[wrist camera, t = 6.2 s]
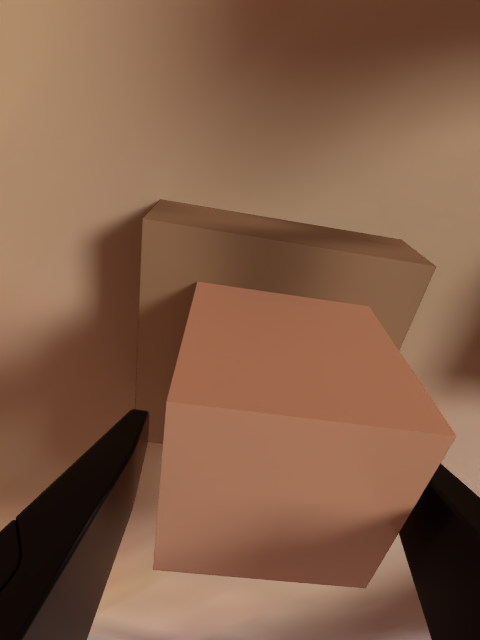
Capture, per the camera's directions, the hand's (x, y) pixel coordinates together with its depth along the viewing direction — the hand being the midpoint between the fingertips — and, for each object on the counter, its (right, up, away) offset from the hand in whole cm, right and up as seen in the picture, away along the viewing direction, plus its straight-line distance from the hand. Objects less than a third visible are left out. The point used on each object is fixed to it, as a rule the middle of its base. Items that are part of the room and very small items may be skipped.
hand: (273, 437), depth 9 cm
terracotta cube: (0, +1, +3) cm, 3 cm away
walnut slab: (0, +3, +5) cm, 6 cm away
